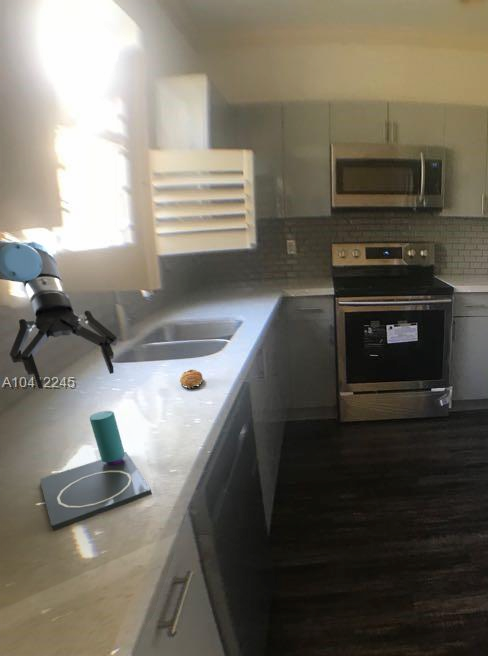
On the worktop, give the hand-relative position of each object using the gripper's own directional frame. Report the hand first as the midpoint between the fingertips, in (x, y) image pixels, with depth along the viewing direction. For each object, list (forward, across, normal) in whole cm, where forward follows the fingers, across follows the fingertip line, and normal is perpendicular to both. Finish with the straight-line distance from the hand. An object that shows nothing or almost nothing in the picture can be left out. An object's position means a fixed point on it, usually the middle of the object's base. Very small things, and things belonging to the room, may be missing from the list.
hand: (77, 377), depth 101 cm
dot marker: (+20, +2, +2) cm, 21 cm away
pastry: (-7, +31, +31) cm, 44 cm away
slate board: (+26, -4, -2) cm, 27 cm away
